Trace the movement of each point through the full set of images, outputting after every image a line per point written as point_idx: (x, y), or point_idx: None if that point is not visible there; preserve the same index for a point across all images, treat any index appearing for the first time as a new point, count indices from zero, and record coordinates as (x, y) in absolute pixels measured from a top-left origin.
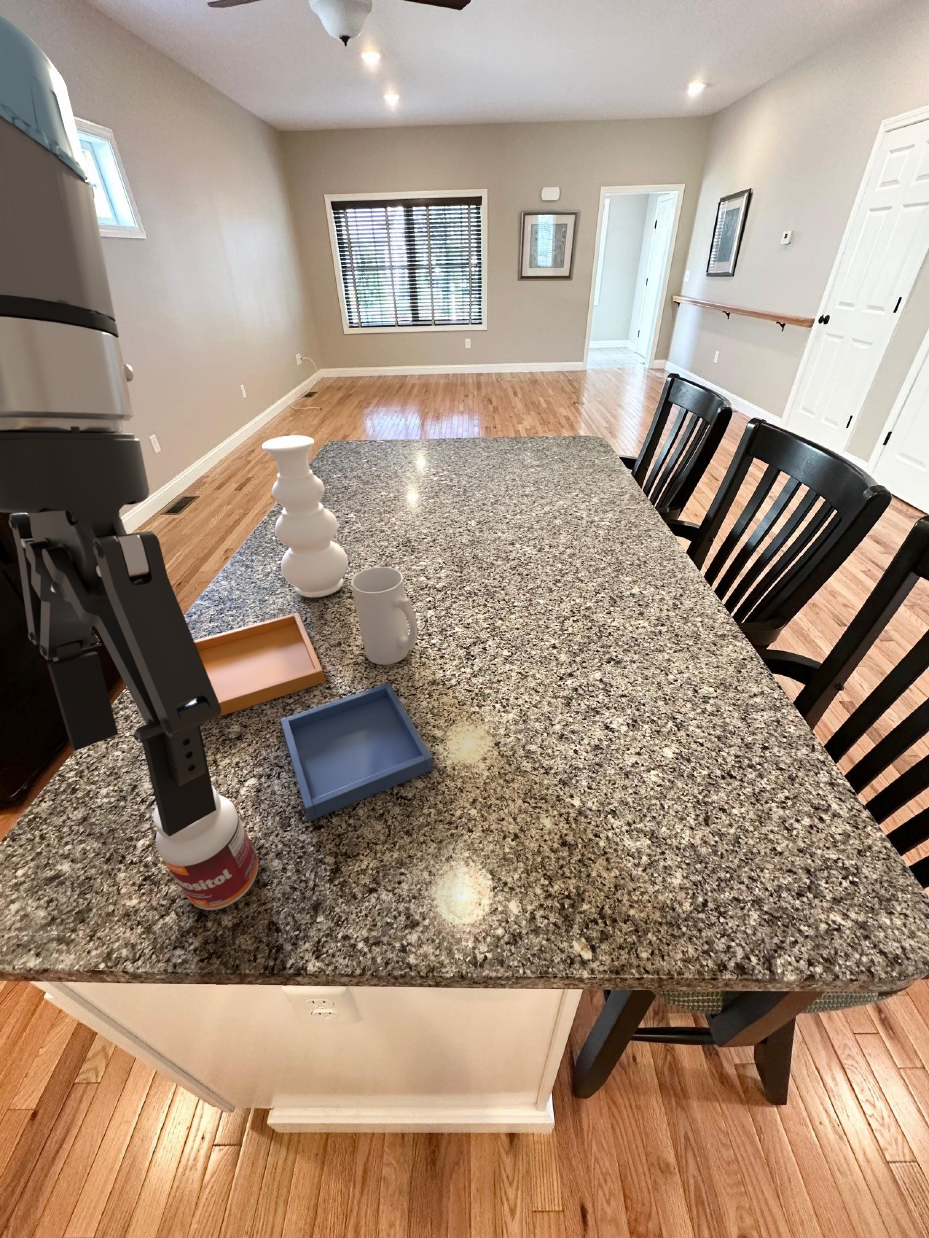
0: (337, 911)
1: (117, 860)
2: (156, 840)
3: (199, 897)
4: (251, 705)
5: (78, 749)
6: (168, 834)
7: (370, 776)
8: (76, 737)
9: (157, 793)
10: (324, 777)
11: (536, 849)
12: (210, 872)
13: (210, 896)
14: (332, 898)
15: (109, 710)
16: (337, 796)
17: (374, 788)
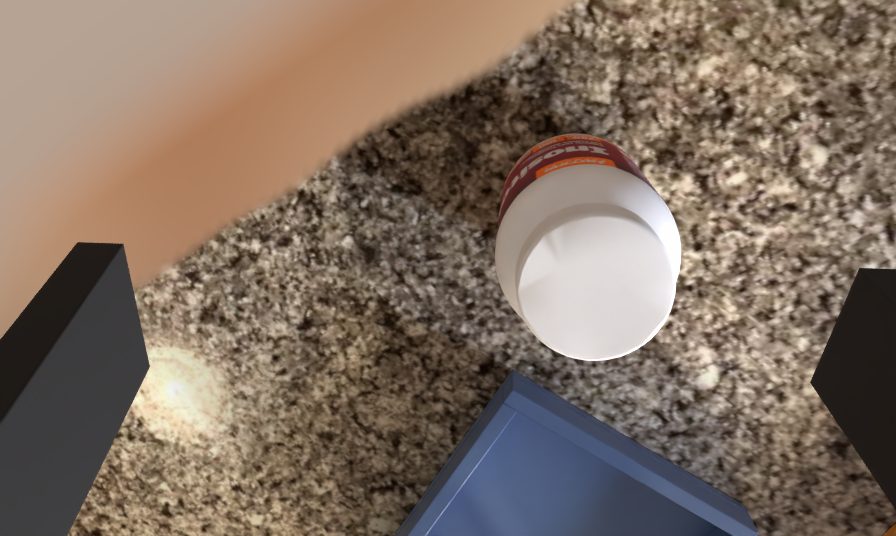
0: (330, 266)
1: (832, 101)
2: (635, 186)
3: (541, 150)
4: (891, 528)
5: (857, 277)
6: (75, 246)
7: (447, 504)
8: (882, 311)
9: (19, 345)
10: (555, 457)
11: (125, 507)
12: (507, 199)
13: (523, 163)
14: (355, 279)
15: (868, 454)
16: (475, 440)
17: (436, 483)
